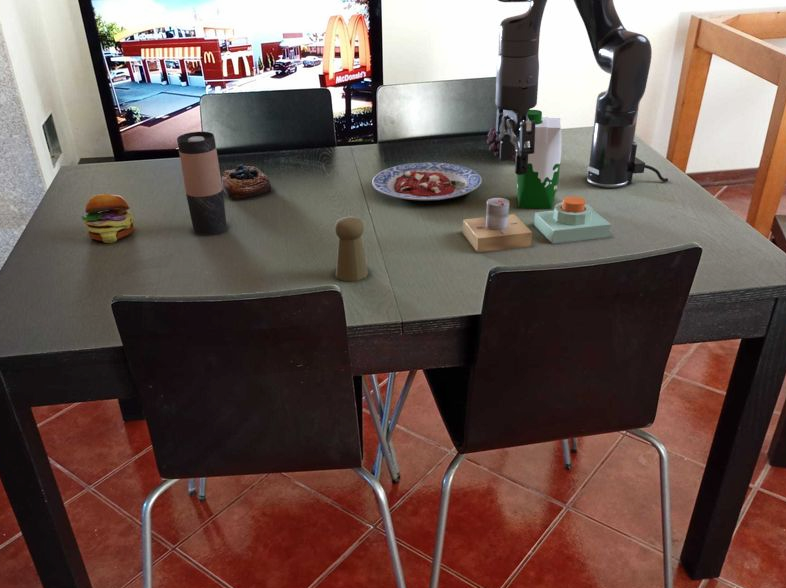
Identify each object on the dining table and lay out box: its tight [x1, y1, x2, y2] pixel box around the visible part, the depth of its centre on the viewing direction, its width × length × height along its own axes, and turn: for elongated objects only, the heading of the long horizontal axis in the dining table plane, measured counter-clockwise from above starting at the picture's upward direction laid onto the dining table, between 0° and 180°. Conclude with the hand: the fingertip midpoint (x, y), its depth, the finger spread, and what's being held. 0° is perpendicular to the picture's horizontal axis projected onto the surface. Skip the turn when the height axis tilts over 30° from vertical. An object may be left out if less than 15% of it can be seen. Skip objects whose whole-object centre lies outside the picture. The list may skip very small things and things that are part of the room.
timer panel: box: [462, 213, 533, 253], centre depth 153 cm, size 11×10×3 cm
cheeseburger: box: [81, 193, 135, 244], centre depth 162 cm, size 10×11×10 cm
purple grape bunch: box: [486, 124, 516, 162], centre depth 196 cm, size 18×10×10 cm
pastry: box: [221, 163, 272, 201], centre depth 182 cm, size 11×12×6 cm
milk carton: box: [516, 109, 563, 210], centre depth 165 cm, size 9×9×20 cm
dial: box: [485, 197, 510, 230], centre depth 150 cm, size 4×4×5 cm
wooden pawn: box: [334, 215, 369, 282], centre depth 140 cm, size 6×6×11 cm
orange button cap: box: [562, 195, 586, 213], centre depth 153 cm, size 4×4×2 cm
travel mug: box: [176, 131, 227, 236], centre depth 159 cm, size 8×8×20 cm
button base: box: [533, 201, 612, 245], centre depth 154 cm, size 12×10×5 cm
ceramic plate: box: [371, 162, 483, 202], centre depth 180 cm, size 26×26×3 cm
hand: (513, 166), depth 146 cm, fingers open, 8 cm apart
